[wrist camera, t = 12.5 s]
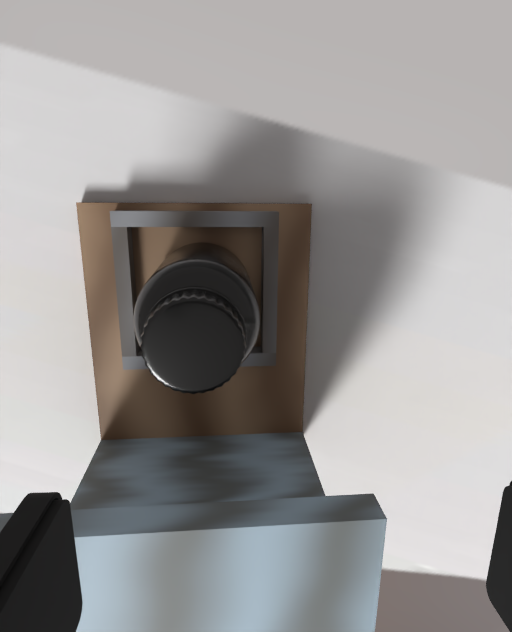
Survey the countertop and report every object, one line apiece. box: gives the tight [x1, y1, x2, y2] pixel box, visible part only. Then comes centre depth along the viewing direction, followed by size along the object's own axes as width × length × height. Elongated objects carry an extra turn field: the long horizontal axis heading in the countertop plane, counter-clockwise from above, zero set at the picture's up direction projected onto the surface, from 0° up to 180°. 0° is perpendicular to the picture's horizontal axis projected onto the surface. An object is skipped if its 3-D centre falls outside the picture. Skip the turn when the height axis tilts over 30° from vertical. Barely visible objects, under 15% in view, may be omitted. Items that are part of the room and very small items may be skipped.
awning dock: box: [0, 203, 387, 632], centre depth 24 cm, size 16×20×18 cm
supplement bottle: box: [133, 242, 260, 394], centre depth 25 cm, size 7×7×12 cm
